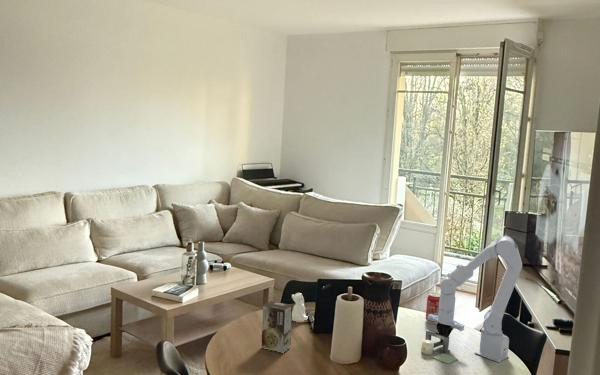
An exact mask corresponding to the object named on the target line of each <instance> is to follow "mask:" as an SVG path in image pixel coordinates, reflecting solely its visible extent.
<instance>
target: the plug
mask: <svg viewBox="0 0 600 375" xmlns="http://www.w3.org/2000/svg"><path fill="white" fill-rule="evenodd" d="M421 341H422V342H421V348H420V349H421V350H420V352H421V353H422V354H423V355H429V356H430V355H433V354H434V348H438V347H440V346H443V341H440V340H439V341H436V342H434V341H433V340H431V341H430V340H425V339H422V340H421Z"/></svg>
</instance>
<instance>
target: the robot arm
mask: <svg viewBox="0 0 600 375" xmlns="http://www.w3.org/2000/svg"><path fill="white" fill-rule="evenodd" d="M499 257H500V258H502V259H503V261H504V263H505V264H506V266H507V267H506V269H505V271H504V275H503V277H502V279H501V282H500V284H499V287H498V288H497V291H496V295H495V296H494V299H493V303H492V304H491V306H490V308H489V310H488V311H487V312H485V314H484V316H483V323H482V327H481V330H480V331H481V332H480V333H481V334H480V340H479V341H480V343H479V349H478V350H476V351H474V354H476V355H477V356H481V357H483V358H486V359H489V360H492V361H495V362H497V363H500V362H502V361H503V360H505V359H507V358H509V348H510V347H509V345H510V338H509V337H508V336H507V335H506V334H504V333H503V330H502V327H503V325H502V322H503V317H504V316H505V314H504V313H505V311H506V309H507V306H508V304H509V300H510V299H511V296H512V294H513V291H514V288H515V285H516V283H517V280H518V278H519V276H520V273H521V271H522V269H523V261H522V259H521V255H520V251H519V247H518V245H517V243H516V241H514V239H513V238H512V237H511V236H508V235H502V236H500V237H499V238H498V239H497V240H494V241H493V242H492V243H490V244H489V245H487V246H486V247H485V248H484V249H482V250H481V251H480V252H479V253H478V254H477V255H476V256H475V257H474V258H473V259H471V260H470V261H469V262H468V263H461V264H460V263H457V265H456V268H455V269H454V270H453V271H451V272H450V273H447V274H446V276H444V277H443V278H442V280H441V282H440V286H439V288H440V292H439V294H440V300H439V312H438V316H437V315H433V314H429V315H428V319H427V320H432V321H435V322H438V324H435V328H436V330H437V333H440V334H442V335H445V336H448V337H449V338H450V335H451V333H452V332H453V330H454V329H455V330H458V331H459V332H462V331H464V330H465V324H463V323H460V322H458V321H456V320H455V308H456V292H457V288H458V287H462V285H463V284H465V283H466V282H467V281H469V279H470V278H472V277H474V271H475V270H476V269H478V268H479V267H480V266H482V265H483V264H484V263H485V262H488V261H489V260H490V259H498V258H499ZM427 320H426V321H427ZM439 341H443V340H442V339H439Z"/></svg>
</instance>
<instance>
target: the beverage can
mask: <svg viewBox="0 0 600 375" xmlns="http://www.w3.org/2000/svg"><path fill="white" fill-rule="evenodd" d="M440 295H441V294H440V293H439V292H438V293H436V292H430V293H429V294H428V296H427V298H426V299H427V300H426V311H425V320H426V321H427V323H429V324H432V325H437V324H438V322H435V321H432V320H427V319H428V315H429V314H433V315H437V316H438V312H439V300H440Z"/></svg>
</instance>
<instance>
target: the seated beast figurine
mask: <svg viewBox="0 0 600 375" xmlns="http://www.w3.org/2000/svg"><path fill="white" fill-rule="evenodd" d="M291 299H292V300H293V301H294V303H295V304H294V305H293V306H292V320H293V321H304V320H307V319H308V316H309V315H306V310H307V309H306V307H305V299H304V296H303V294H302V293H301V292H296V293H295V294H291ZM293 321H292V322H293Z"/></svg>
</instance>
